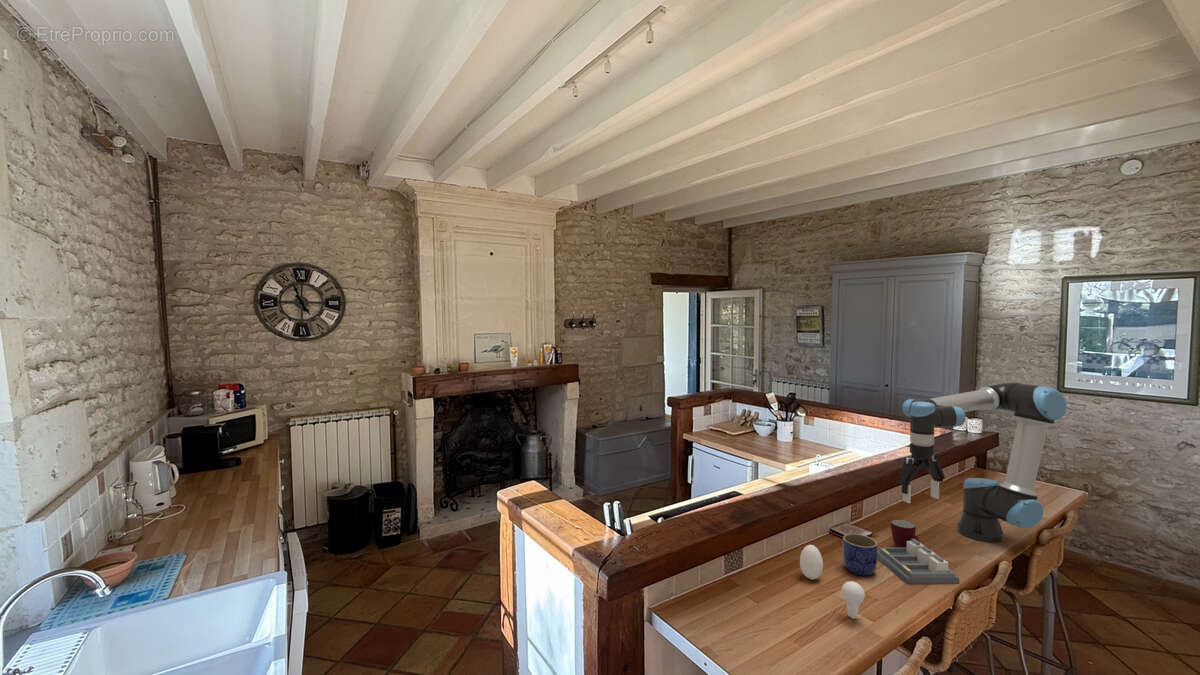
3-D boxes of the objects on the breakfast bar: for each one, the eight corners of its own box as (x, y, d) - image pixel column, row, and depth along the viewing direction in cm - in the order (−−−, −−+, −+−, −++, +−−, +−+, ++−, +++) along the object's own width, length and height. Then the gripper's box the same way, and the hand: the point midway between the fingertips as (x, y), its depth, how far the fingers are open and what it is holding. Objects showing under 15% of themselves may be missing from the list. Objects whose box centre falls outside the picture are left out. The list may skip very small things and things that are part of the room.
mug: (926, 554, 185) (926, 528, 185) (913, 558, 181) (913, 532, 181) (899, 543, 194) (899, 518, 194) (886, 547, 191) (886, 521, 191)
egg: (797, 580, 168) (797, 546, 167) (802, 570, 174) (802, 538, 173) (820, 586, 163) (821, 552, 163) (824, 576, 170) (825, 544, 169)
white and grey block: (939, 569, 170) (940, 554, 170) (947, 575, 166) (948, 559, 166) (928, 569, 170) (928, 554, 170) (936, 575, 166) (936, 559, 166)
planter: (873, 565, 177) (874, 535, 176) (879, 581, 167) (880, 549, 166) (840, 560, 181) (840, 531, 180) (844, 575, 170) (845, 544, 170)
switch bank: (922, 556, 184) (922, 546, 183) (959, 583, 165) (959, 572, 165) (875, 556, 183) (875, 547, 183) (906, 583, 165) (906, 573, 165)
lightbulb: (837, 612, 149) (837, 577, 149) (856, 611, 150) (856, 576, 149) (848, 625, 143) (849, 588, 143) (868, 624, 144) (869, 587, 143)
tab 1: (917, 552, 182) (917, 538, 182) (924, 557, 178) (924, 543, 178) (906, 552, 182) (906, 538, 182) (913, 558, 178) (913, 543, 178)
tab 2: (927, 560, 176) (928, 545, 176) (935, 566, 172) (936, 551, 172) (917, 560, 176) (917, 546, 176) (924, 566, 172) (924, 551, 172)
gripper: (938, 438, 188) (936, 492, 189) (886, 444, 181) (885, 500, 182) (957, 443, 180) (955, 499, 182) (904, 449, 174) (903, 507, 175)
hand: (920, 499), depth 182 cm, fingers open, 13 cm apart
